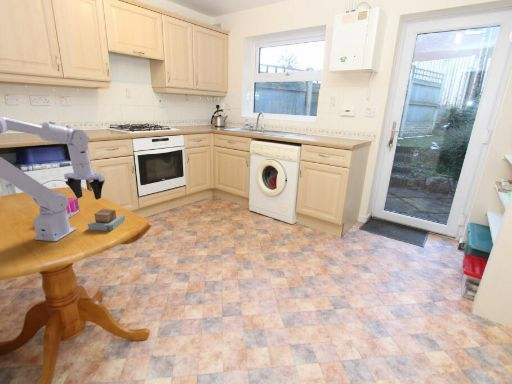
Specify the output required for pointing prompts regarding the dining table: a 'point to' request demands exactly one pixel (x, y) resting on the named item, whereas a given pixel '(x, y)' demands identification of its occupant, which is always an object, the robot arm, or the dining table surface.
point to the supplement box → (72, 207)
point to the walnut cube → (105, 216)
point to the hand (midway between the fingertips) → (89, 197)
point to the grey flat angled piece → (106, 224)
